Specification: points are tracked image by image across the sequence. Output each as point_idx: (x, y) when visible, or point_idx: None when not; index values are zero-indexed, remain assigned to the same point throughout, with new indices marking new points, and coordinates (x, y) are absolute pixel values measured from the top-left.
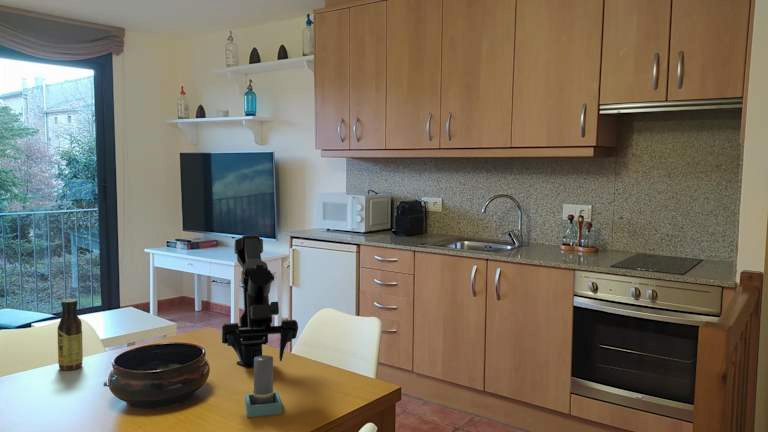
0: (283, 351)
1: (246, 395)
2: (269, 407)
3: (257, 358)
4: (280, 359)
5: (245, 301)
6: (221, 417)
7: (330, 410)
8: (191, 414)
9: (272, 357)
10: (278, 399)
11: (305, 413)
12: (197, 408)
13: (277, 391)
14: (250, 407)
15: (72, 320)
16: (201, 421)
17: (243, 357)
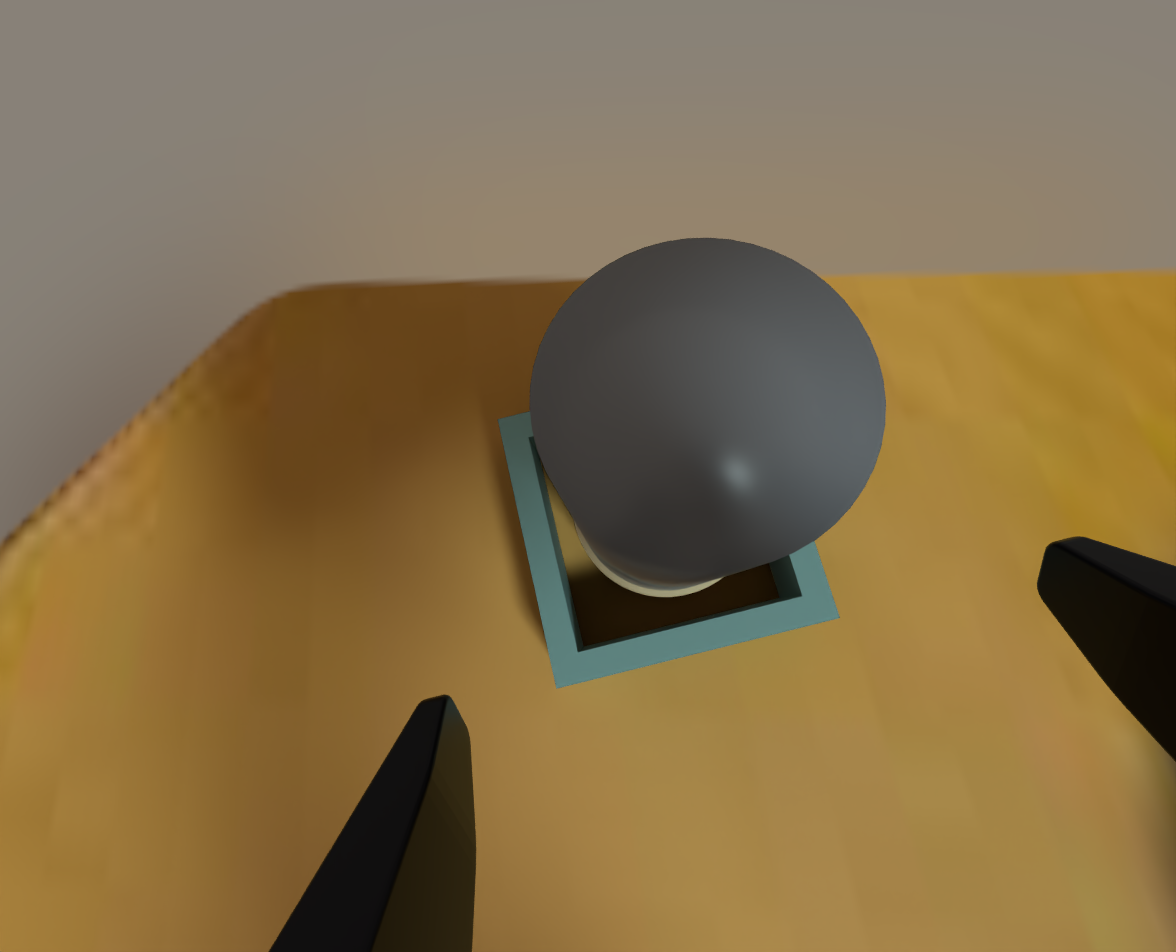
0: (345, 830)
1: (819, 590)
2: None
3: (816, 385)
4: (447, 697)
5: None
6: (913, 387)
7: (194, 497)
8: (1150, 435)
9: (542, 441)
10: (534, 498)
11: (360, 450)
12: (1157, 541)
13: (562, 681)
14: None
15: None
16: (1026, 327)
17: (1131, 577)
